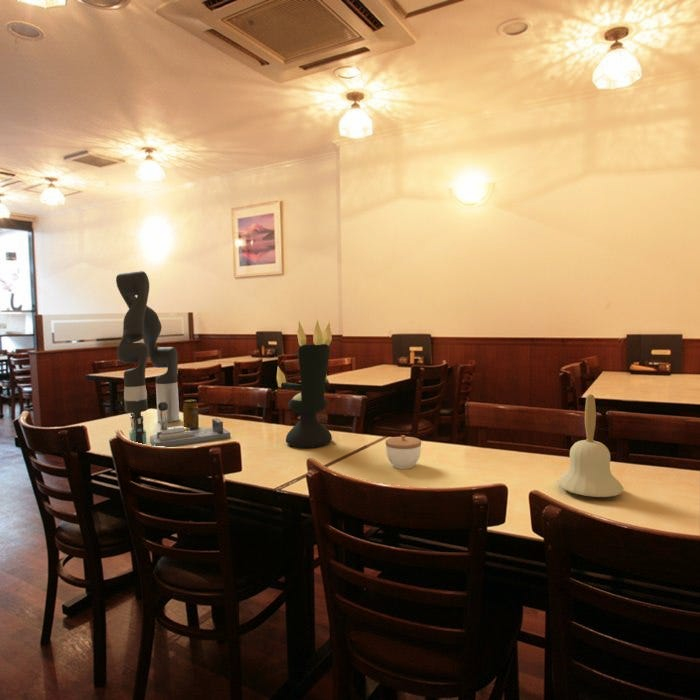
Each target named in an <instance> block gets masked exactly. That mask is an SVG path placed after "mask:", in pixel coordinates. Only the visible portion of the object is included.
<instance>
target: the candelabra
mask: <svg viewBox="0 0 700 700" xmlns="http://www.w3.org/2000/svg"><path fill="white" fill-rule="evenodd" d="M296 330H297V331H296V334H297V340H298V345H299V346H298V348H297V358H298V359H297V360H298V365H299V367H298V369H299V376H300V377H299V378H300V384H299V383H293V382H287V379H286V376H285V374H284V372H283V371H282V370H281V368H280V367H279V366H277V371H276V383H277V387H278V388H283V389H286V390H293V391H300V392H299V393H297V394H295V395H294V396H293V397H292V398H291V399H290V400H289V402H288V408H289V410H290V411H291V412H293V413H296V414H297V413H298V414H299V415H300V416H299V421H298V422H297V423H296V424H295V425H294V426H293V427H292V428H291V429H289V431H288V432H287V434H286V437H285V442H286V444H287V445H289V446H290V447H293V448H298V449H299V448H303V449H304V448H305V449H308V448H319V447H323V446H326V445H328V444H330V442H331V441H332V440H333V436H332V433H331V431H329V429H328V428H327V427H326V426H325V425H323V424H322V423H321V422H320V421H319V420H318V418H317V413H320V412H322V411H324V410H326V409H327V406H328V401H327V399H326V398H325V391H326V389H325V388H329V387H330V382H329V380H328V375H327V373H328V367H329V359H330V344H331V342H332V341H333V335H332V330H331V323H330V321H328V322H327V323H326V325H325V326H324V329H323V330H321V328H320V325H319V321H318V319H316V320H315V324H314V327H313V329H312V331H313V333H312V334H313V335H312V338H313V340H312V341H313V343H312V344H307V337H306V336H307V335H306V333H305V331H304V329H303V327H302V324H301V322H300V321H298V322H297V329H296Z"/></svg>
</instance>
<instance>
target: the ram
mask: <svg viewBox="0 0 700 700" xmlns="http://www.w3.org/2000/svg"><path fill="white" fill-rule="evenodd" d="M158 409H159V410H160V422H159V423H160V427H159V432H160V435H164V434H171V433H179V432H186V431H188V428H187V427H186V428H184V425H177V426H176V425H175V426H169V427H168V422H167V409H168V404H167V403H166V402H164V401H163V402H160V403H159V404H158Z"/></svg>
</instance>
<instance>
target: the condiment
mask: <svg viewBox="0 0 700 700" xmlns="http://www.w3.org/2000/svg"><path fill="white" fill-rule="evenodd" d="M182 413H183V414H182V416H183V419H182V420H183V427H184V428H186V427H187V428H190V430H198V429H204V428H203V427H200V426H199V425H200V417H199V406H198V400H197V399H185V400H183V407H182Z"/></svg>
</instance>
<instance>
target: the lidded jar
mask: <svg viewBox="0 0 700 700" xmlns="http://www.w3.org/2000/svg"><path fill="white" fill-rule="evenodd" d="M421 445H422V441H421V439H420V438H417V437H413V436H406V435H404V434H402V435H401V436H394V437H393V436H392V437H390V438H389V437H388V438H387V439H386V440H385V448H386V449H385V452H386V456H387V458H388V460H389V462H390V463H391V464H392V465H393V467H394V468H397V469H402V470H406V469H408V470H409V469H411V468H414V466H415V465H416V464H417V463H418V461H419V460H420V457H421V454H422V453H421V450H422V447H421Z"/></svg>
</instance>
